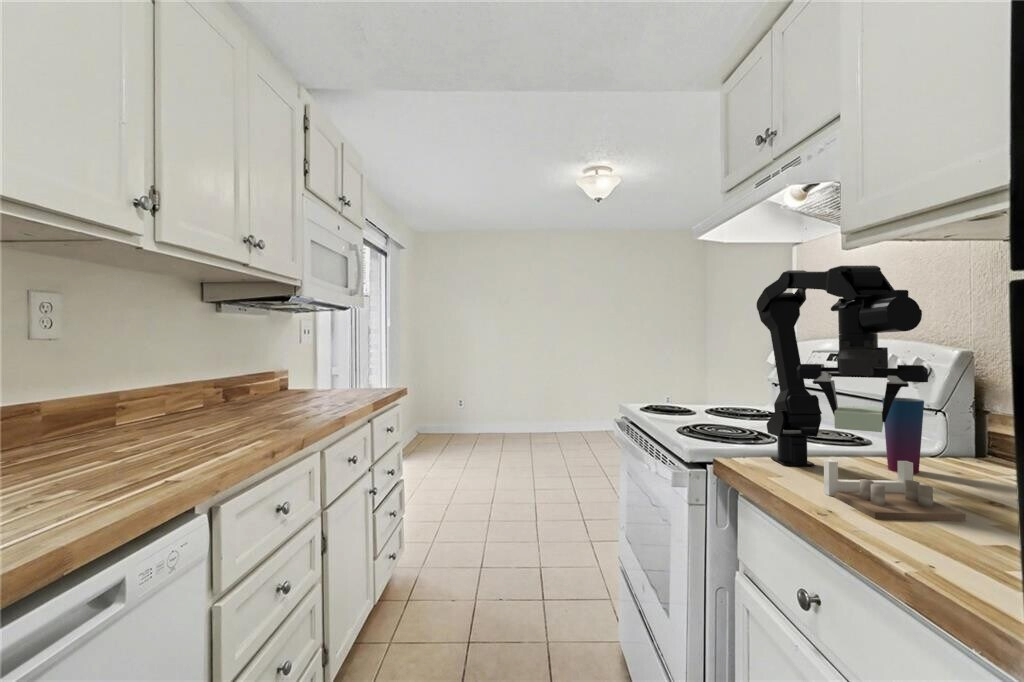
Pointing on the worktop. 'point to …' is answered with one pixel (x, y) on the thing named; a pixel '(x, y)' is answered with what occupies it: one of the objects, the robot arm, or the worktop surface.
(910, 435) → the cup
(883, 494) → the peg stand
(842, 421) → the board
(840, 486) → the u-shaped frame
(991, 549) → the worktop surface
